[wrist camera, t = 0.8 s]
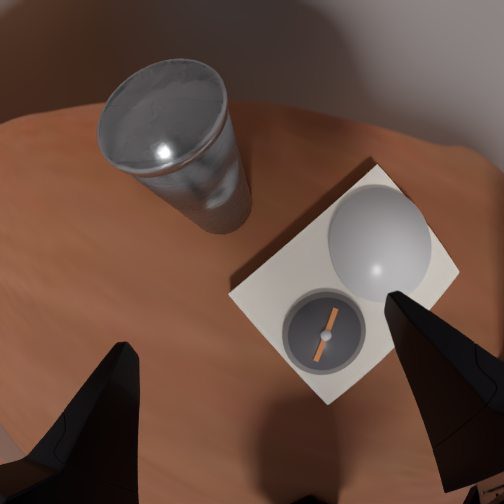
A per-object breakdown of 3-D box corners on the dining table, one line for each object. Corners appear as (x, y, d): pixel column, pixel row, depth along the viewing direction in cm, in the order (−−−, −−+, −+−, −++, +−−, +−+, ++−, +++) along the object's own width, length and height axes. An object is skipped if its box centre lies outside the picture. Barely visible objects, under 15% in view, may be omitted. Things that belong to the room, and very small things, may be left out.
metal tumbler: (216, 248, 22) (135, 203, 8) (178, 202, 23) (80, 119, 9) (266, 206, 22) (257, 104, 9) (225, 162, 23) (177, 43, 9)
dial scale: (325, 399, 21) (328, 408, 19) (230, 293, 22) (226, 294, 20) (452, 272, 21) (463, 271, 19) (372, 169, 22) (379, 161, 20)
